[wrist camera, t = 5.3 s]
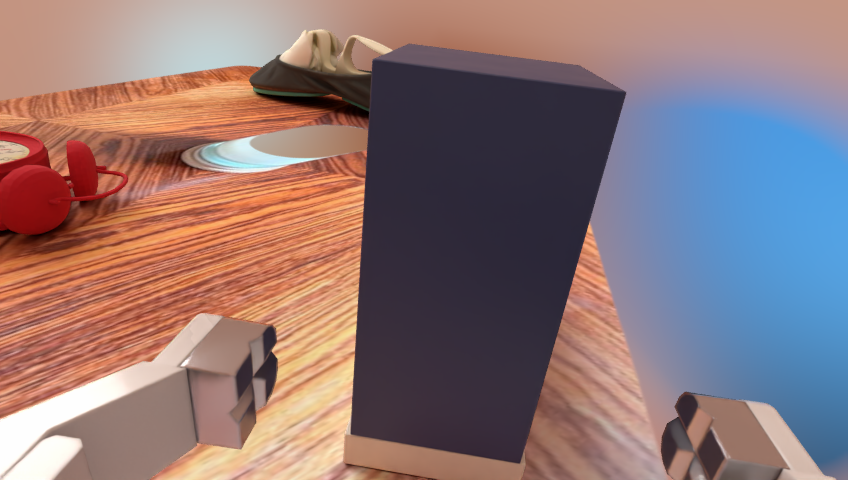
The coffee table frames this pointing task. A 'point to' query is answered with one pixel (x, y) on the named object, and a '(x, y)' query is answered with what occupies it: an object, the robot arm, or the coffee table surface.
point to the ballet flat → (318, 70)
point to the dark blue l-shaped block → (468, 252)
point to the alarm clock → (43, 183)
